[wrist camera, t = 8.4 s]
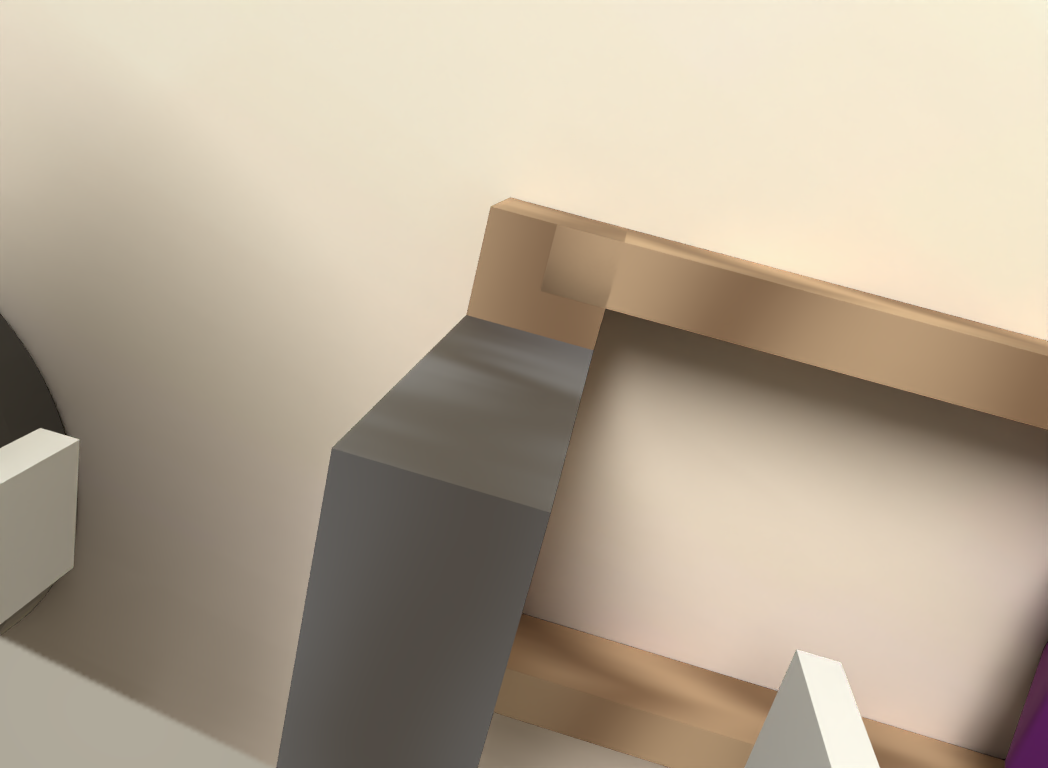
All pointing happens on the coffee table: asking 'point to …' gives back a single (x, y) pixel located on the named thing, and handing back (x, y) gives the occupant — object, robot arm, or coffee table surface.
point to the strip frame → (529, 491)
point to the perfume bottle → (1032, 724)
